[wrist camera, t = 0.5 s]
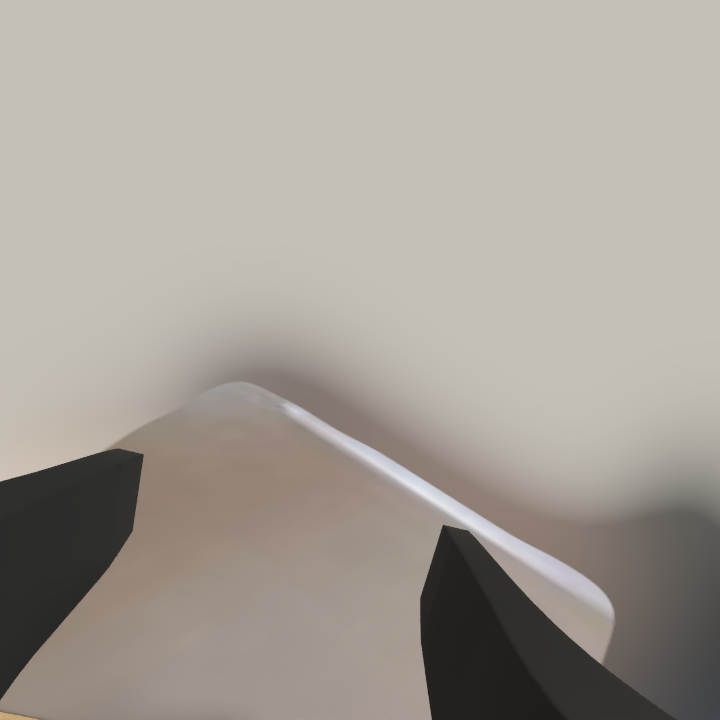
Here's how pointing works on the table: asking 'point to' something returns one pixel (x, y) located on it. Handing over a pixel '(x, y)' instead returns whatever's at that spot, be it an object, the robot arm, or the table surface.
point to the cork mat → (14, 717)
